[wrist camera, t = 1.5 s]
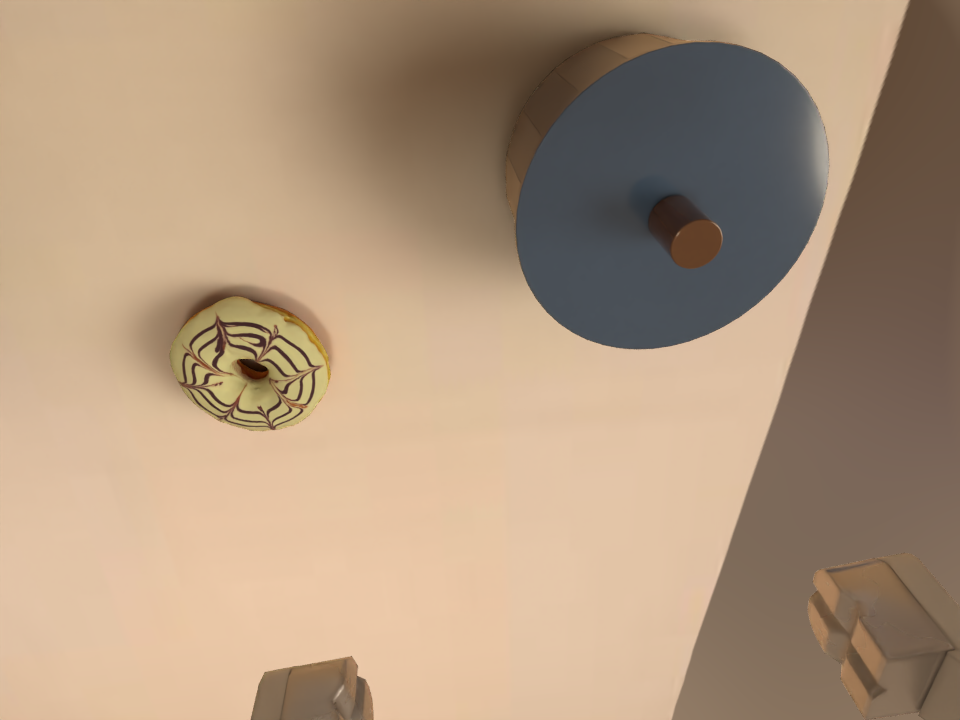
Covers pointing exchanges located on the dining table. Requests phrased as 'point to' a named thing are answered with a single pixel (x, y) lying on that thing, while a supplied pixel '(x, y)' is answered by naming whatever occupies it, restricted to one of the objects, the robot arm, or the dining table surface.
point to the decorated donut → (238, 389)
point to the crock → (566, 97)
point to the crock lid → (671, 194)
